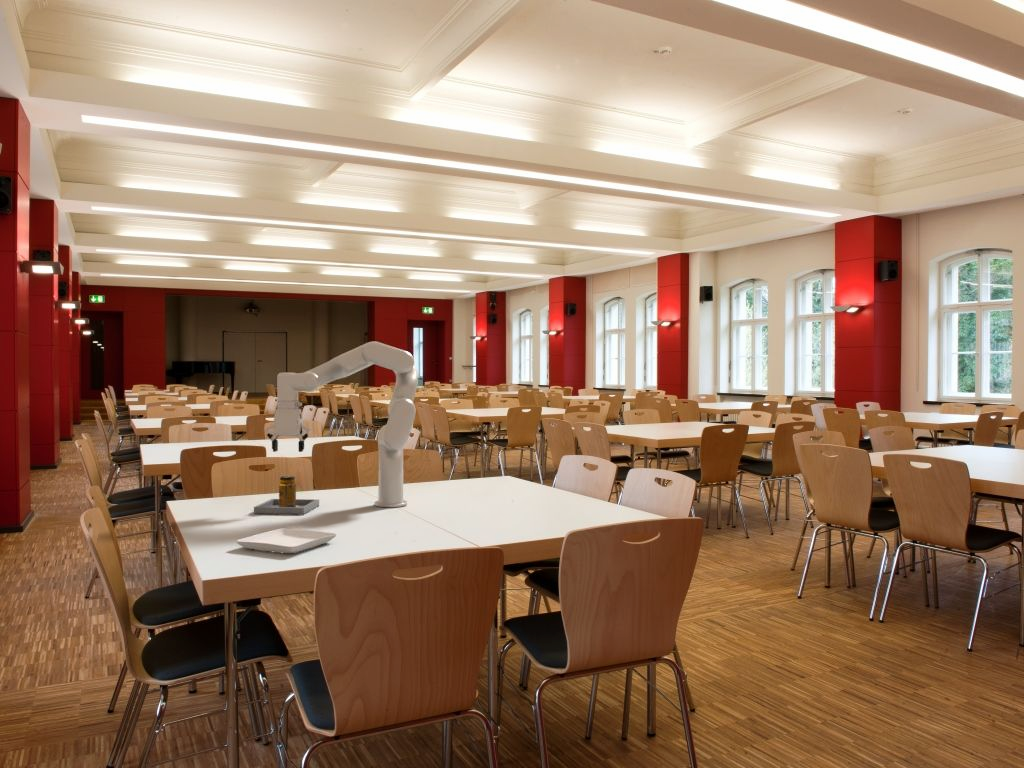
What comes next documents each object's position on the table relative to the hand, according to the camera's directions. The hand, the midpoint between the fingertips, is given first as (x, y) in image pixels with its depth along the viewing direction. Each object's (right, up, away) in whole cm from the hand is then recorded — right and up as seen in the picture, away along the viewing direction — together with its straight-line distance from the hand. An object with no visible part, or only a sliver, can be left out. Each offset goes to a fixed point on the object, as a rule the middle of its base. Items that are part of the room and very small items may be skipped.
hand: (288, 451), depth 287 cm
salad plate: (+17, -24, -59) cm, 65 cm away
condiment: (+1, -22, +1) cm, 22 cm away
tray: (0, -22, 0) cm, 22 cm away
